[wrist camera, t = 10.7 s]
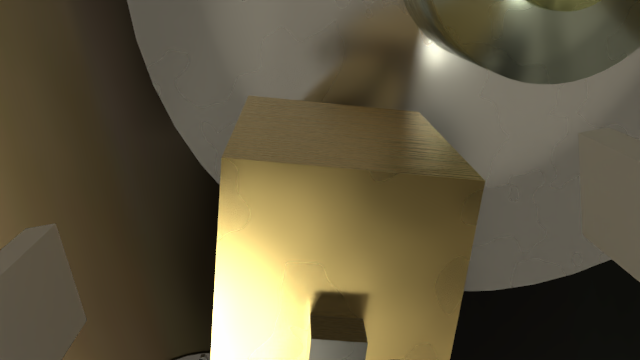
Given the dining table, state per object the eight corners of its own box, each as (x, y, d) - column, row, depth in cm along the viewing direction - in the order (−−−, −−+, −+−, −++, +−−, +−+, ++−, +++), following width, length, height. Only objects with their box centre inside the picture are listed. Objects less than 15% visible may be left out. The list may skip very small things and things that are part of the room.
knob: (254, 81, 18) (215, 171, 9) (403, 95, 19) (499, 196, 10) (243, 245, 20) (200, 453, 11) (379, 256, 20) (443, 466, 11)
